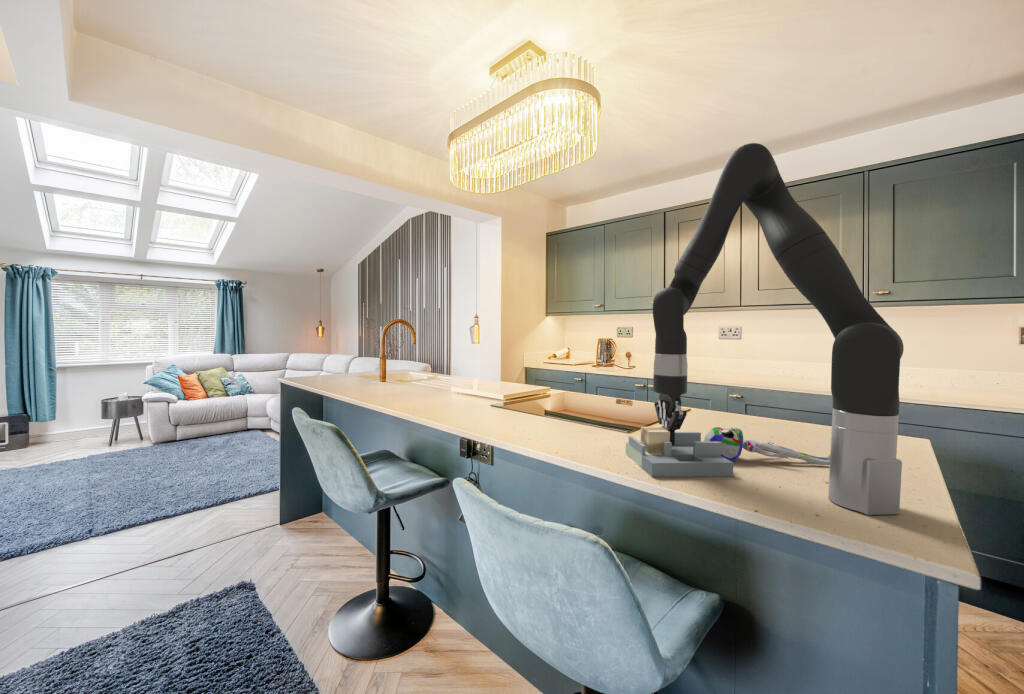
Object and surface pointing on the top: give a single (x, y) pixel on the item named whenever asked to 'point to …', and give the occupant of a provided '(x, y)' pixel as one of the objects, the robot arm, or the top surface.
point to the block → (654, 438)
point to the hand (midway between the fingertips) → (668, 445)
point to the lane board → (681, 457)
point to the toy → (755, 447)
